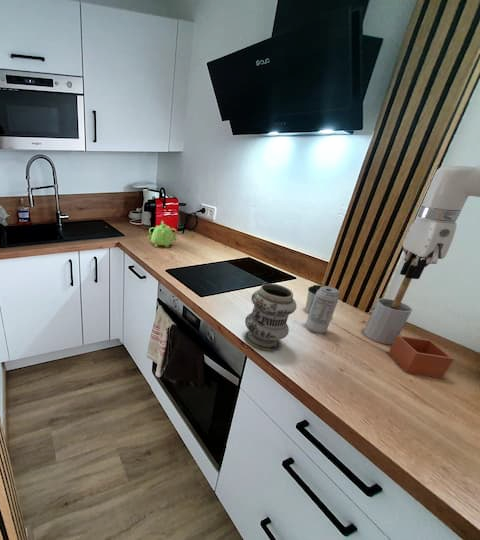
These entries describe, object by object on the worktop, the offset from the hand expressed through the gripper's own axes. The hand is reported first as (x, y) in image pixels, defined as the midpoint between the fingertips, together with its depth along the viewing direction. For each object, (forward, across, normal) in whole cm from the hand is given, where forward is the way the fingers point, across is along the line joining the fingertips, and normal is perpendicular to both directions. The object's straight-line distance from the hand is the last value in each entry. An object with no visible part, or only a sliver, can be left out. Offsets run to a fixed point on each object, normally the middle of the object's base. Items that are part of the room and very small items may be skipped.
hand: (409, 276), depth 84 cm
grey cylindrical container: (+22, 0, 0) cm, 22 cm away
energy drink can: (+22, -1, +20) cm, 29 cm away
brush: (+17, 0, 0) cm, 17 cm away
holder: (+22, -13, -2) cm, 25 cm away
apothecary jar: (+22, -13, +38) cm, 46 cm away
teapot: (+21, +74, +80) cm, 111 cm away
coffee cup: (+22, +11, +16) cm, 29 cm away
